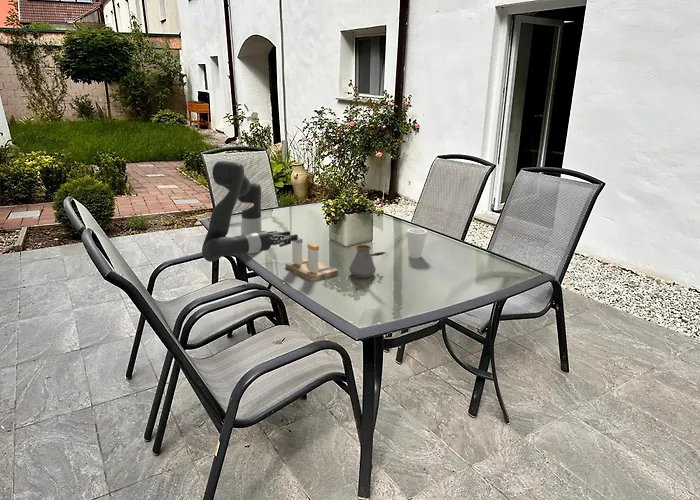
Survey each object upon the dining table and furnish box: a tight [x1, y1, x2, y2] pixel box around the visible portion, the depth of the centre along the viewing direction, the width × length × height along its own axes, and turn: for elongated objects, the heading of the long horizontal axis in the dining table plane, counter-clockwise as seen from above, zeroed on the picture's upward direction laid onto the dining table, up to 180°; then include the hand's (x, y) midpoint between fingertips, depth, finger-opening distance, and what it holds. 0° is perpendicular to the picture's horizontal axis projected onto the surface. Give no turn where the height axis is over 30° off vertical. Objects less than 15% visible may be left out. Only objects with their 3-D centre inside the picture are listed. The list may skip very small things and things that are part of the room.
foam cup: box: [406, 228, 428, 259], centre depth 227 cm, size 10×9×13 cm
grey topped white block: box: [291, 236, 304, 265], centre depth 204 cm, size 2×5×12 cm, turn 40°
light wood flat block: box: [285, 257, 339, 282], centre depth 204 cm, size 14×20×3 cm
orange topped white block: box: [307, 242, 320, 273], centre depth 196 cm, size 2×5×12 cm, turn 40°
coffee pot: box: [348, 244, 388, 279], centre depth 196 cm, size 21×12×15 cm, turn 32°
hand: (293, 235), depth 186 cm, fingers open, 5 cm apart
